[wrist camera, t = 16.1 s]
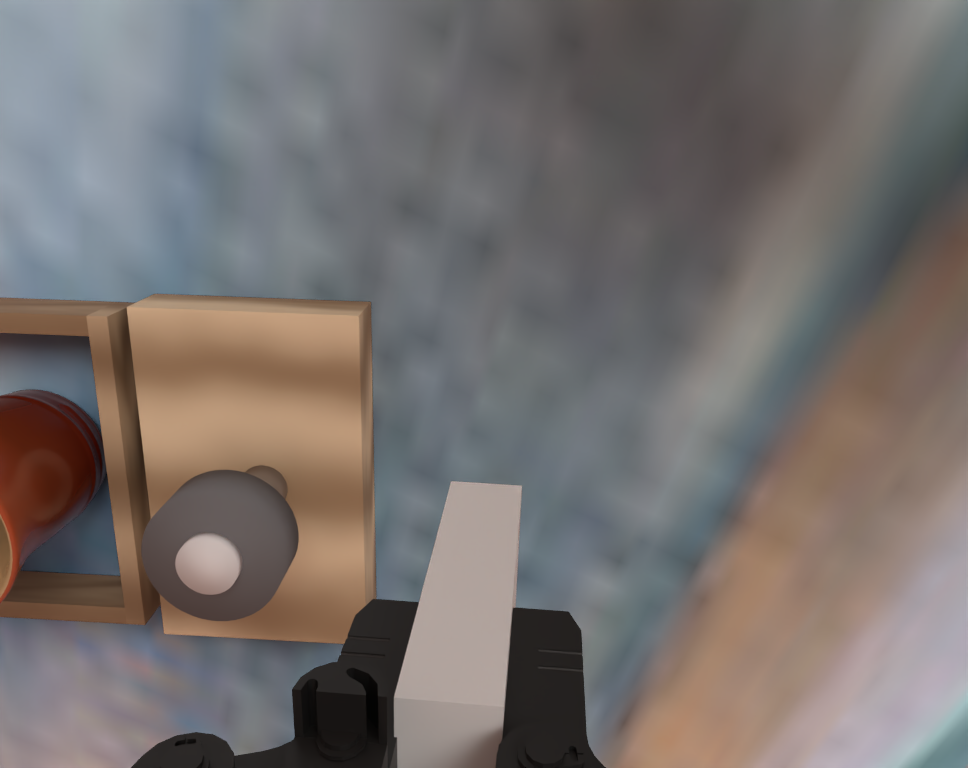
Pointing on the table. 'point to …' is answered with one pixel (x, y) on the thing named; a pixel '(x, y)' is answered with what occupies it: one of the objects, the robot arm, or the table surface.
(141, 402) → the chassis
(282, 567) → the wheel
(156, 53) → the table surface
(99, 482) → the mug
